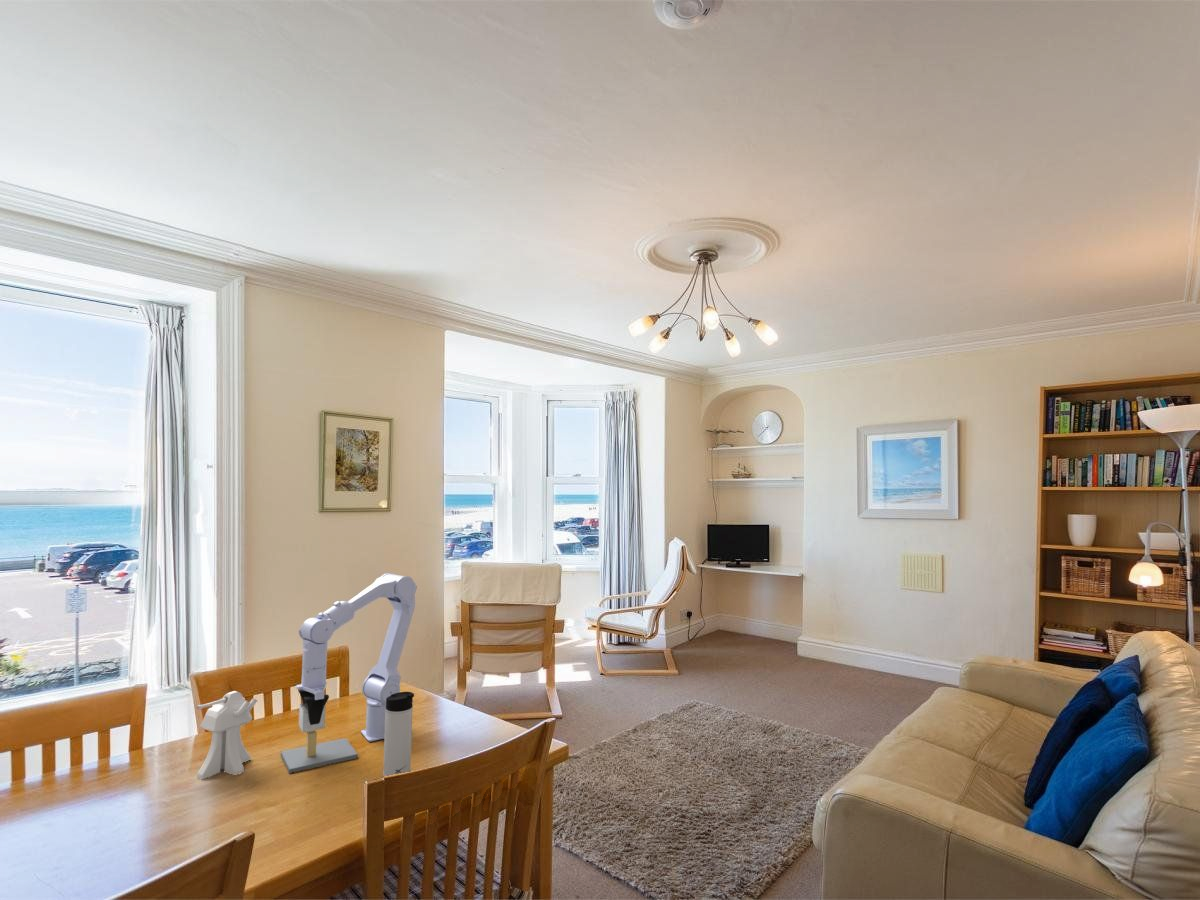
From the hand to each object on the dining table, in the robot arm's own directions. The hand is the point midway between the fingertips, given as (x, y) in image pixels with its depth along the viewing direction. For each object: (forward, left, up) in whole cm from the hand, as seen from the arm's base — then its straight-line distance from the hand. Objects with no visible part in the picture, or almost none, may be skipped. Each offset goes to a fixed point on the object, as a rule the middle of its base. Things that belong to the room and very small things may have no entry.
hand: (312, 720), depth 163 cm
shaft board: (-2, 0, -10) cm, 10 cm away
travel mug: (-15, +22, -10) cm, 28 cm away
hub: (0, 0, -2) cm, 2 cm away
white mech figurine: (+19, -5, -10) cm, 22 cm away
